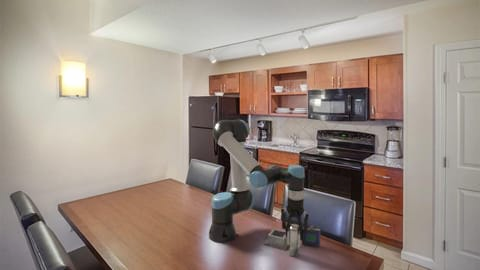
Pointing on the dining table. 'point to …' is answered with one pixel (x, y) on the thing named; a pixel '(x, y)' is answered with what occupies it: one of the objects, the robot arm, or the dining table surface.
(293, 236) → the silver canister
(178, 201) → the dining table surface
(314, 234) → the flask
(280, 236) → the duct collar
